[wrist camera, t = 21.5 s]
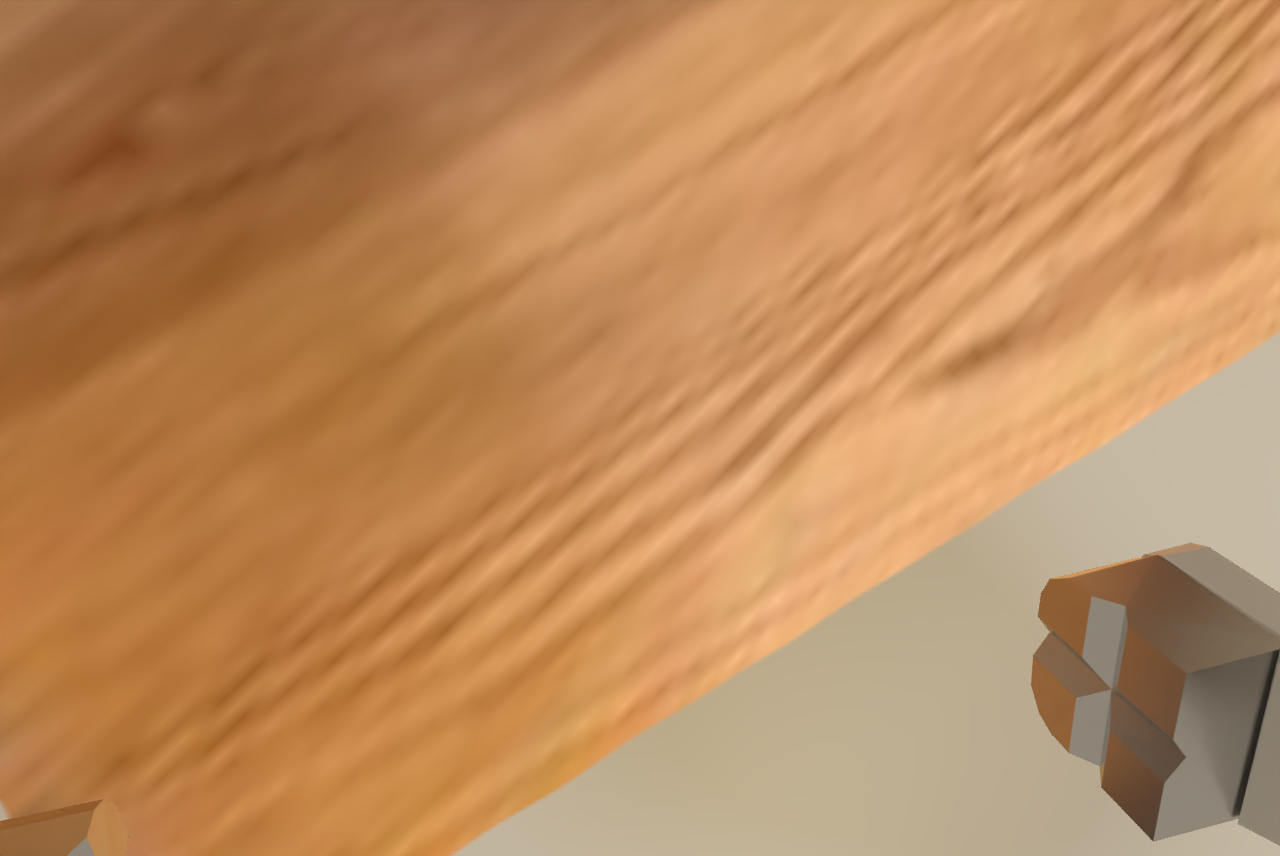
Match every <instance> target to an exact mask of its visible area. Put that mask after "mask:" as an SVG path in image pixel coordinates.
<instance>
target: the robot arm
mask: <svg viewBox="0 0 1280 856" xmlns="http://www.w3.org/2000/svg"><path fill="white" fill-rule="evenodd" d="M1038 617H1039V619H1040V620H1041V621H1042V623H1043V624H1044V625H1045V626H1046V628H1047V629H1048V630H1049V631H1050V633H1049V634H1048V636H1047V637H1046V638H1045V640H1044V641H1043V642H1042V644H1041V645H1040V647H1039V648H1038V649H1037V651H1036V652H1035V654H1034V655H1033V666H1032V680H1031V681H1032V682H1031V686H1032V690H1033V693H1034V697H1035V700H1036V704H1037V707H1038V711H1039V713H1040V715H1041V717H1042V719H1043V720H1044V722H1045V724H1046V726H1047V727H1048V729H1049V731H1050V732H1051V734H1052V735H1053V736H1054V737H1055V738H1056V739H1057V740H1058V741H1059V743H1060V744H1061V745H1062V746H1063V747H1064V748H1065V749H1066V750H1067V752H1068V753H1070V754H1073V755H1075V756H1077V757H1080V758H1082V759H1085V760H1087V761H1089V762H1092V763H1094V764H1096V765H1099V766H1100V777H1101V788H1102V789H1103V790H1104V791H1105V792H1106V793H1107V794H1108V795H1109V796H1110V797H1111V798H1112V799H1113V800H1114V801H1115V802H1116V803H1117V804H1118V805H1119V806H1120V807H1121V808H1122V809H1123V810H1124V812H1125V813H1126V814H1127V815H1128V816H1129V817H1130V818H1131V819H1132V820H1133V821H1134V822H1135V823H1136V824H1137V825H1138V826H1139V827H1140V828H1141V829H1142V830H1143V831H1144V832H1145V833H1146V835H1147V836H1149V838H1150V839H1151V840H1152V841H1157V840H1161V839H1164V838H1168V837H1171V836H1175V835H1179V834H1183V833H1187V832H1191V831H1194V830H1198V829H1202V828H1205V827H1209V826H1213V825H1216V824H1220V823H1224V822H1228V821H1231V820H1235V819H1239V820H1238V824H1239V825H1241V826H1243V827H1245V828H1247V829H1249V830H1251V831H1253V832H1255V833H1257V834H1258V835H1260V836H1262V837H1264V838H1266V839H1268V840H1270V841H1272V842H1274V843H1276V844H1278V845H1280V593H1279V592H1278V591H1276V590H1274V589H1273V588H1271V587H1270V586H1268V585H1267V584H1265V583H1264V582H1262V581H1260V580H1259V579H1257V578H1256V577H1254V576H1253V575H1251V574H1250V573H1248V572H1247V571H1245V570H1244V569H1242V568H1240V567H1239V566H1237V565H1236V564H1234V563H1233V562H1231V561H1230V560H1228V559H1227V558H1225V557H1223V556H1222V555H1220V554H1219V553H1217V552H1216V551H1214V550H1213V549H1211V548H1210V547H1206V546H1201V545H1197V544H1193V543H1188V544H1184V545H1180V546H1176V547H1172V548H1169V549H1165V550H1161V551H1157V552H1153V553H1149V554H1145V555H1143V556H1142V557H1141V558H1135V559H1131V560H1127V561H1122V562H1118V563H1114V564H1110V565H1106V566H1102V567H1097V568H1093V569H1089V570H1085V571H1081V572H1077V573H1072V574H1069V575H1064V576H1060V577H1056V578H1052V579H1050V580H1049V581H1048V583H1047V585H1046V586H1045V588H1044V589H1043V591H1042V593H1041V597H1040V605H1039V612H1038ZM128 839H129V835H128V832H127V830H126V828H125V825H124V823H123V821H122V818H121V816H120V814H119V811H118V809H117V807H116V805H115V804H113V803H111V802H109V801H107V800H104V799H103V800H98V801H93V802H88V803H84V804H79V805H74V806H69V807H65V808H60V809H55V810H51V811H46V812H41V813H36V814H32V815H27V816H22V817H17V818H13V819H8V820H4V821H0V856H125V853H126V848H127V844H128Z"/></svg>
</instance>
